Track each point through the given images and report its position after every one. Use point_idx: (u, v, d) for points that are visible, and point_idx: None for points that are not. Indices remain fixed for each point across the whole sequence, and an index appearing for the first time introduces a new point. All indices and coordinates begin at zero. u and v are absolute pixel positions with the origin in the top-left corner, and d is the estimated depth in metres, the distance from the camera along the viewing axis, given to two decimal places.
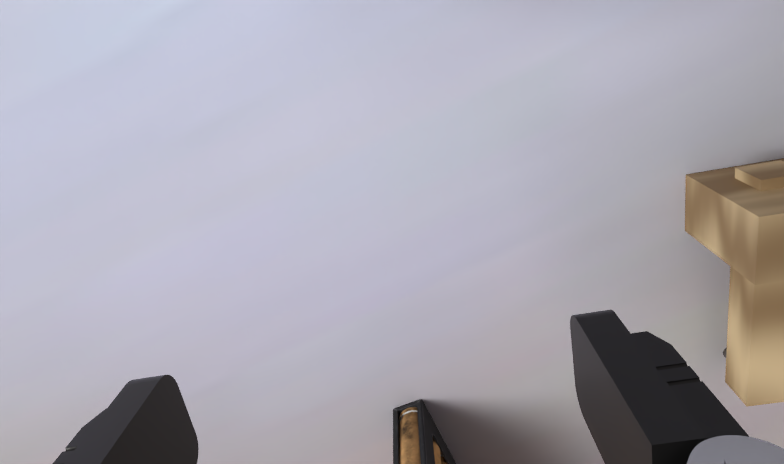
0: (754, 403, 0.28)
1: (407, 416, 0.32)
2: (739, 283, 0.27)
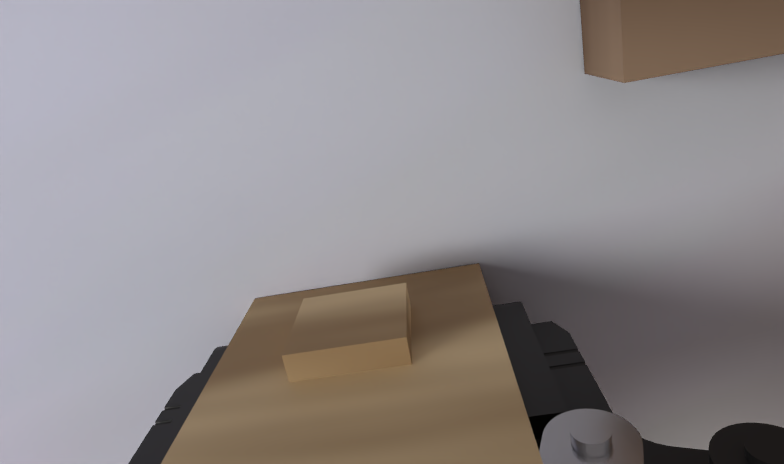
0: None
1: None
2: None
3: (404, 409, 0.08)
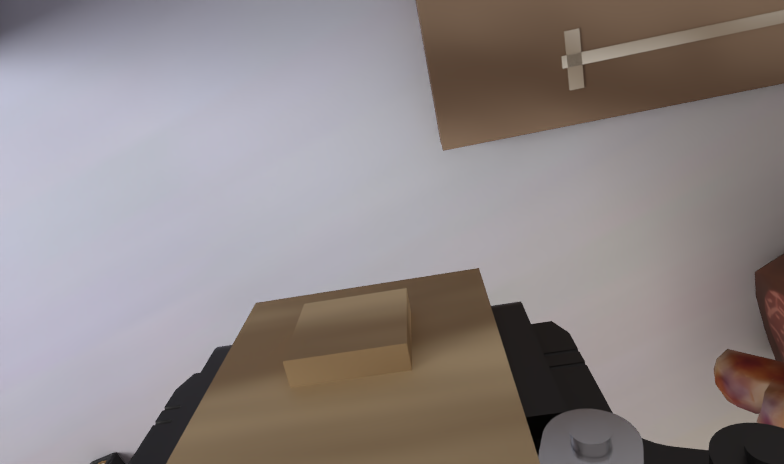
0: None
1: None
2: None
3: (404, 415, 0.08)
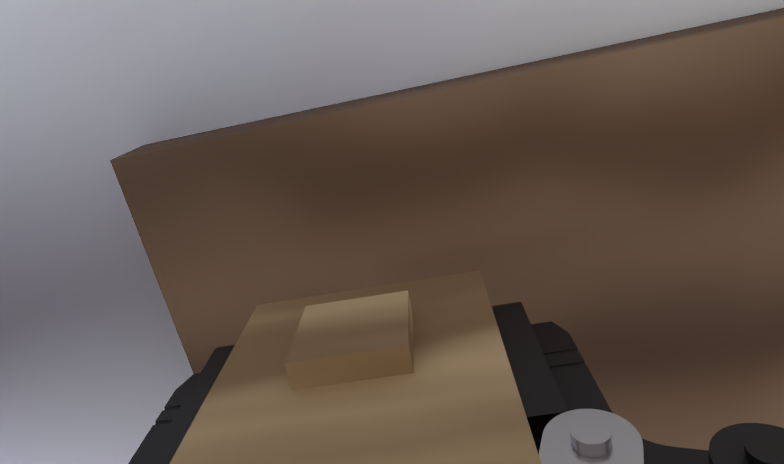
0: None
1: None
2: None
3: (406, 418, 0.08)
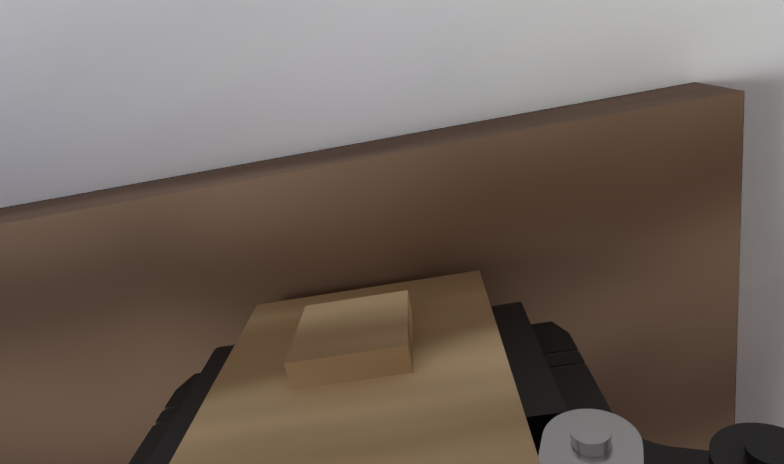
0: None
1: None
2: None
3: (406, 418, 0.08)
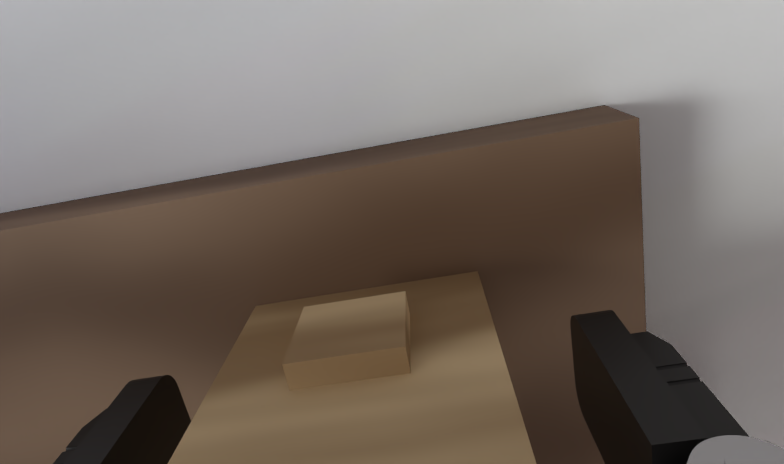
0: None
1: None
2: None
3: (403, 418, 0.08)
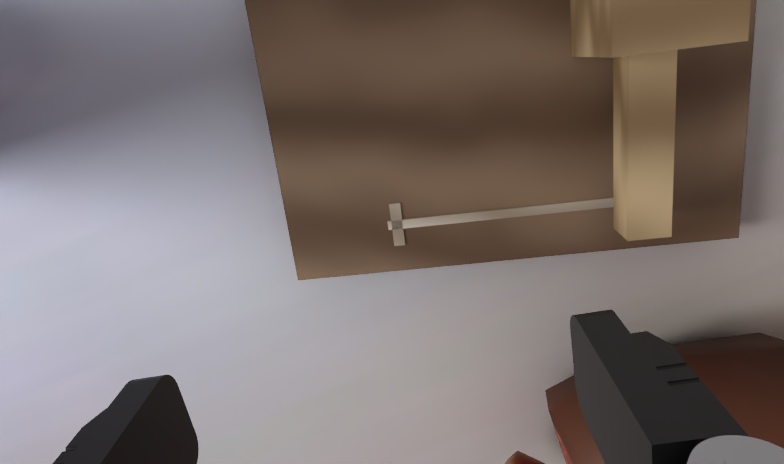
0: (635, 237, 0.26)
1: None
2: (619, 100, 0.25)
3: None
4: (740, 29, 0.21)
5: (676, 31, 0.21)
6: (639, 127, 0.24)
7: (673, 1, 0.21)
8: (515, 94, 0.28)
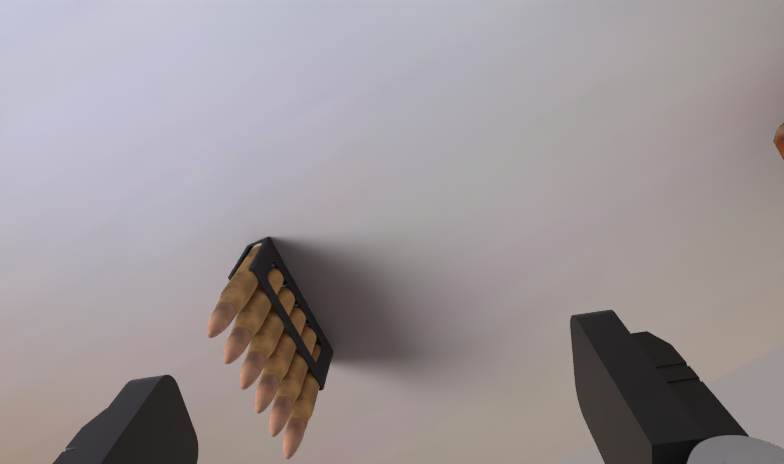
0: None
1: (254, 247, 0.39)
2: None
3: None
4: None
5: None
6: None
7: None
8: None
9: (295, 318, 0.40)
